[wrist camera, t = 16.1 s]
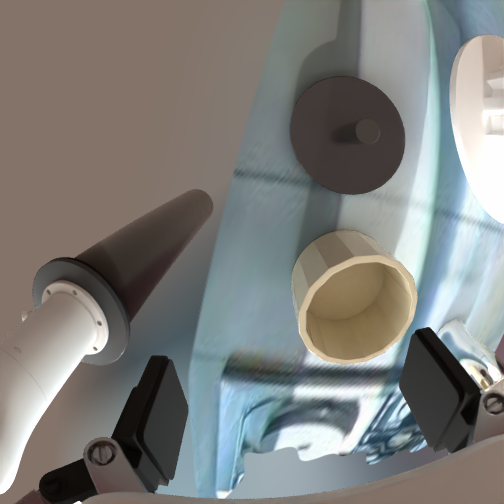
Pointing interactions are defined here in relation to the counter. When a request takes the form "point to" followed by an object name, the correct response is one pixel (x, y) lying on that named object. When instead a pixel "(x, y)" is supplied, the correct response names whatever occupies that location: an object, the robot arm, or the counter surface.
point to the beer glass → (473, 356)
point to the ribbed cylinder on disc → (480, 118)
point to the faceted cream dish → (351, 297)
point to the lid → (347, 135)
